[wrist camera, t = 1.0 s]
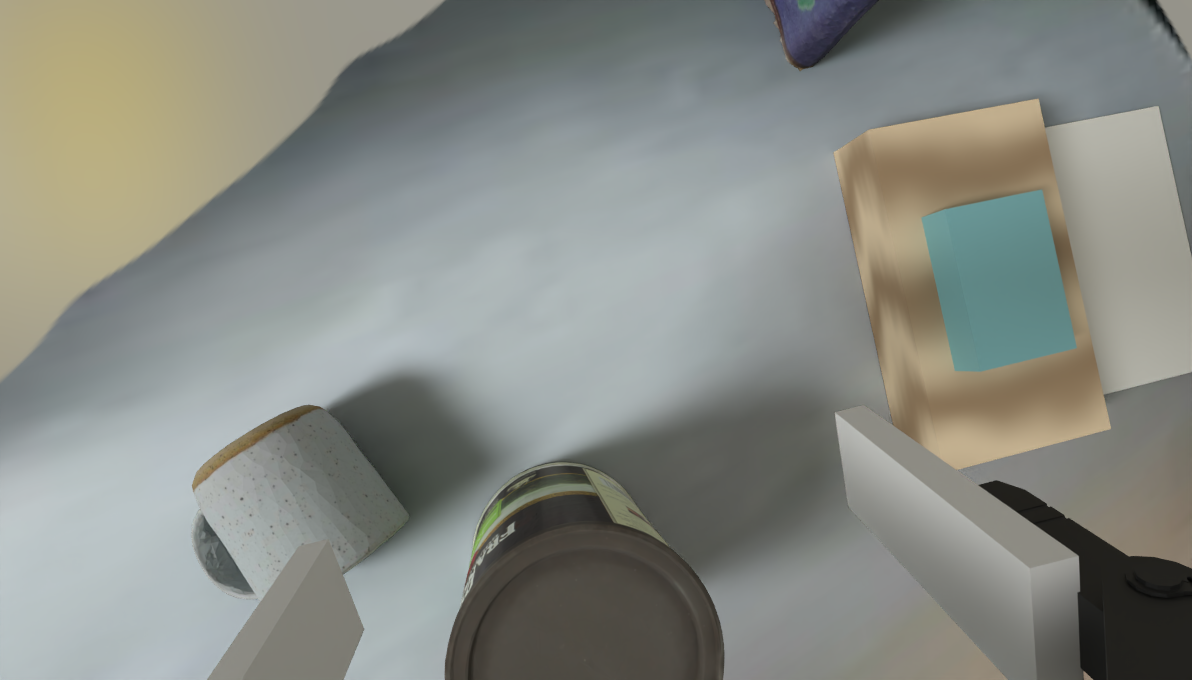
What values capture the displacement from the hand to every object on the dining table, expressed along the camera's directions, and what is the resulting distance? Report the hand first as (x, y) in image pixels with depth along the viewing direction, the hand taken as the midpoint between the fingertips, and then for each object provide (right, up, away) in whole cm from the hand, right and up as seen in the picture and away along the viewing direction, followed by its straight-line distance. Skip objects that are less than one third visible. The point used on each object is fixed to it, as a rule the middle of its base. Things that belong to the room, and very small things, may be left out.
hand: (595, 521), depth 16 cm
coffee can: (-2, -8, +21) cm, 22 cm away
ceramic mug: (-16, -5, +19) cm, 26 cm away
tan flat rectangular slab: (+23, +8, +24) cm, 34 cm away
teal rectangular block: (+23, +8, +20) cm, 31 cm away
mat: (+34, +10, +26) cm, 44 cm away
